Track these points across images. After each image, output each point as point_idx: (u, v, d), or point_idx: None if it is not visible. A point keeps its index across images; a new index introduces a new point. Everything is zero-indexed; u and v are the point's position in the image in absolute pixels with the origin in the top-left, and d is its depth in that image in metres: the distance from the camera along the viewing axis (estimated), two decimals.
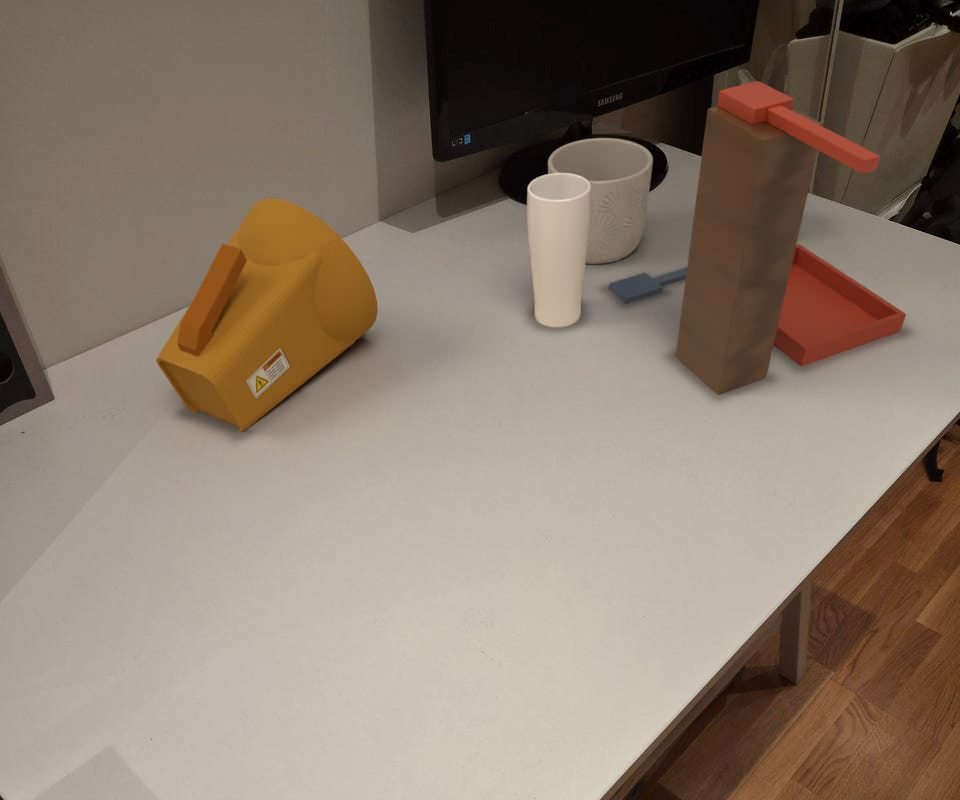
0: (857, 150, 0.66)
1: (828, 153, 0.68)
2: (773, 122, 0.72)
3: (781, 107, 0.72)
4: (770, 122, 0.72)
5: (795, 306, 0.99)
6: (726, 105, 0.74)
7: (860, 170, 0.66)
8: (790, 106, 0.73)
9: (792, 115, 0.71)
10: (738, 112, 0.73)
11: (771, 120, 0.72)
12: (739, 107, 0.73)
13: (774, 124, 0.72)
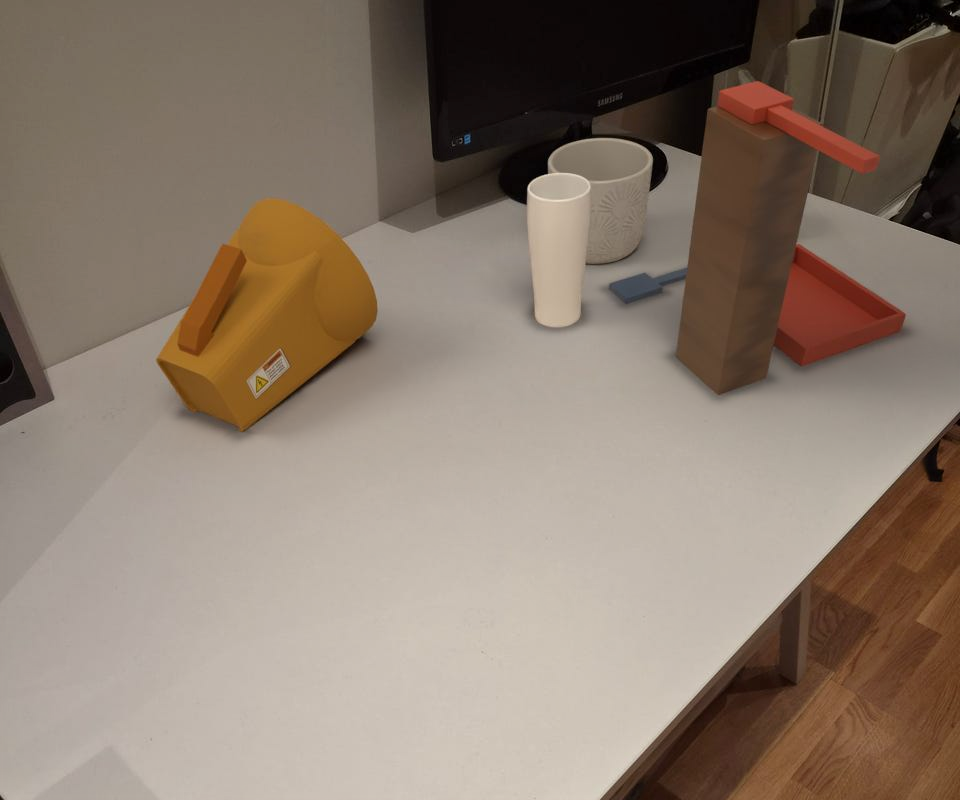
0: (857, 150, 0.66)
1: (828, 153, 0.68)
2: (773, 122, 0.72)
3: (781, 107, 0.72)
4: (770, 122, 0.72)
5: (795, 306, 0.99)
6: (726, 105, 0.74)
7: (860, 170, 0.66)
8: (790, 106, 0.73)
9: (792, 115, 0.71)
10: (738, 112, 0.73)
11: (771, 120, 0.72)
12: (739, 107, 0.73)
13: (774, 124, 0.72)
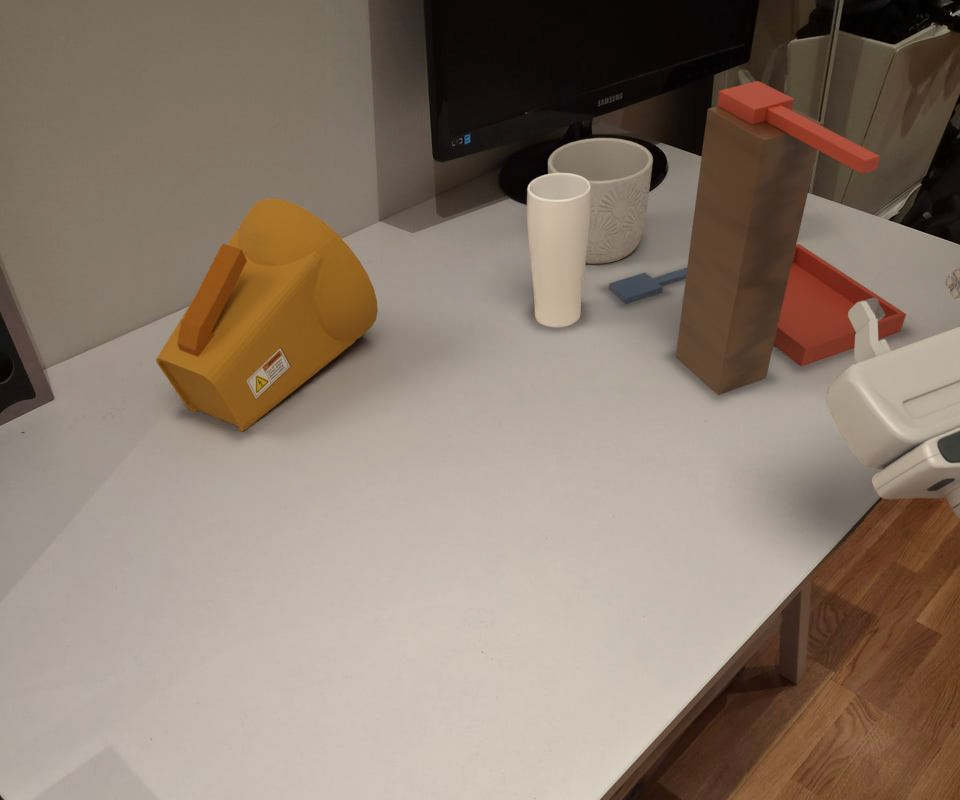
0: (857, 150, 0.66)
1: (828, 153, 0.68)
2: (773, 122, 0.72)
3: (781, 107, 0.72)
4: (770, 122, 0.72)
5: (795, 306, 0.99)
6: (726, 105, 0.74)
7: (860, 170, 0.66)
8: (790, 106, 0.73)
9: (792, 115, 0.71)
10: (738, 112, 0.73)
11: (771, 120, 0.72)
12: (739, 107, 0.73)
13: (774, 124, 0.72)
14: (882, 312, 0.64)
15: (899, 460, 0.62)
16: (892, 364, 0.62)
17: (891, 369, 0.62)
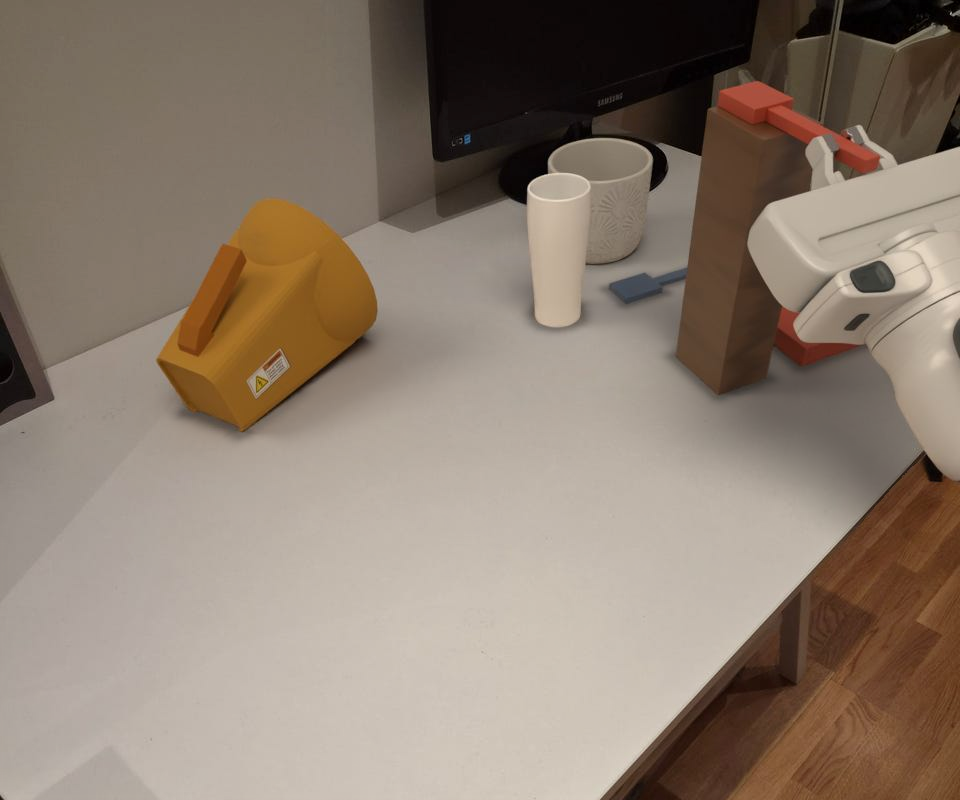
0: (857, 150, 0.66)
1: None
2: (773, 122, 0.72)
3: (781, 107, 0.72)
4: (770, 122, 0.72)
5: None
6: (726, 105, 0.74)
7: (861, 170, 0.66)
8: (790, 106, 0.73)
9: (792, 115, 0.71)
10: (738, 112, 0.73)
11: (771, 120, 0.72)
12: (739, 107, 0.73)
13: (774, 124, 0.72)
14: (837, 147, 0.67)
15: (815, 296, 0.64)
16: (809, 203, 0.64)
17: (807, 208, 0.64)
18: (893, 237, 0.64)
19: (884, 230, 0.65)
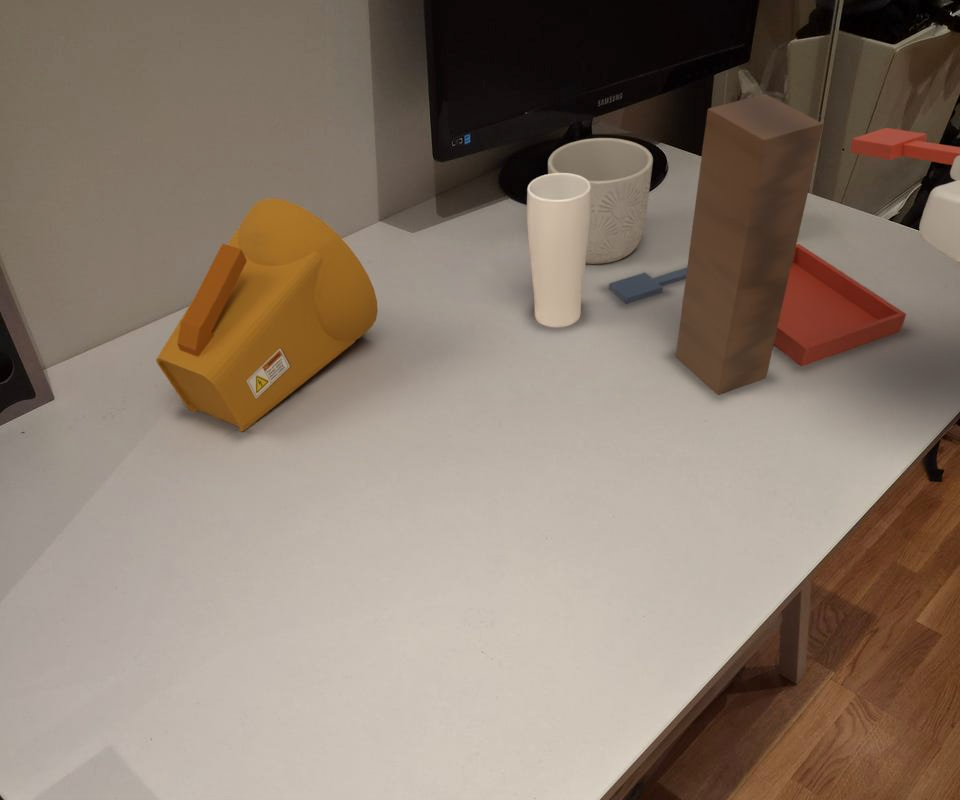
0: None
1: None
2: (911, 154, 0.77)
3: (917, 141, 0.77)
4: (908, 155, 0.78)
5: (795, 306, 0.99)
6: (860, 149, 0.80)
7: None
8: (924, 141, 0.78)
9: (930, 145, 0.76)
10: (874, 152, 0.79)
11: (909, 153, 0.77)
12: (875, 147, 0.79)
13: (912, 156, 0.77)
14: None
15: None
16: None
17: None
18: None
19: None
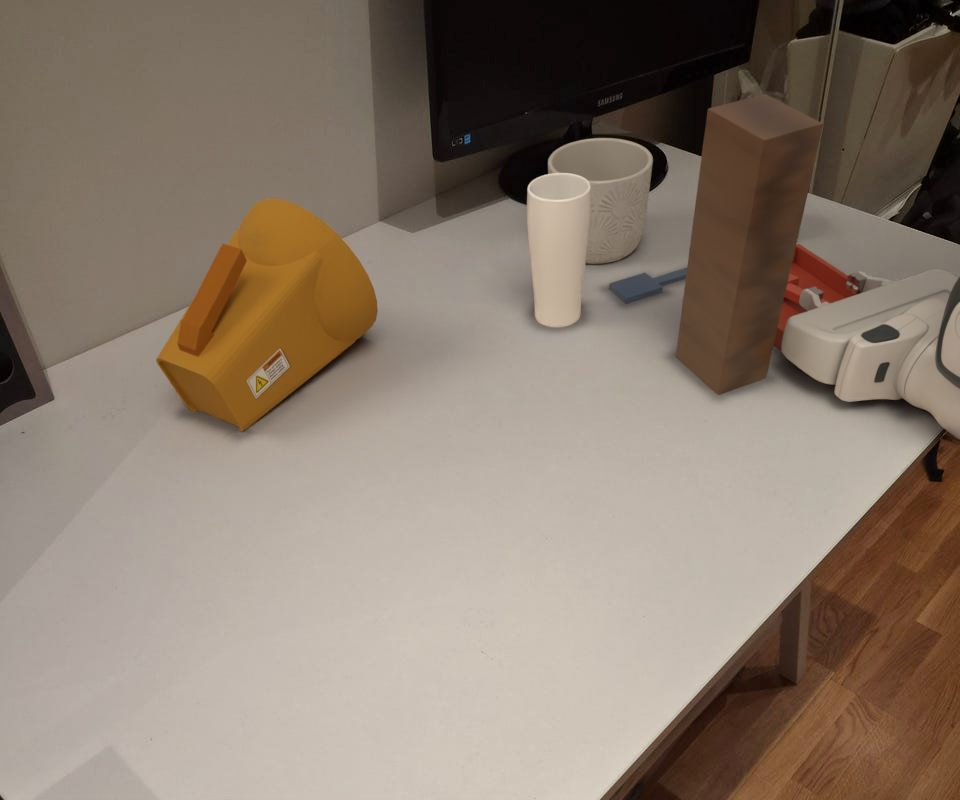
0: None
1: None
2: (785, 295, 0.99)
3: (790, 284, 0.99)
4: None
5: (795, 306, 0.99)
6: None
7: None
8: (797, 283, 1.00)
9: (798, 290, 0.98)
10: None
11: None
12: None
13: (786, 296, 0.99)
14: (821, 291, 0.91)
15: (842, 360, 0.83)
16: (819, 312, 0.87)
17: (819, 314, 0.87)
18: (891, 315, 0.84)
19: (884, 317, 0.86)
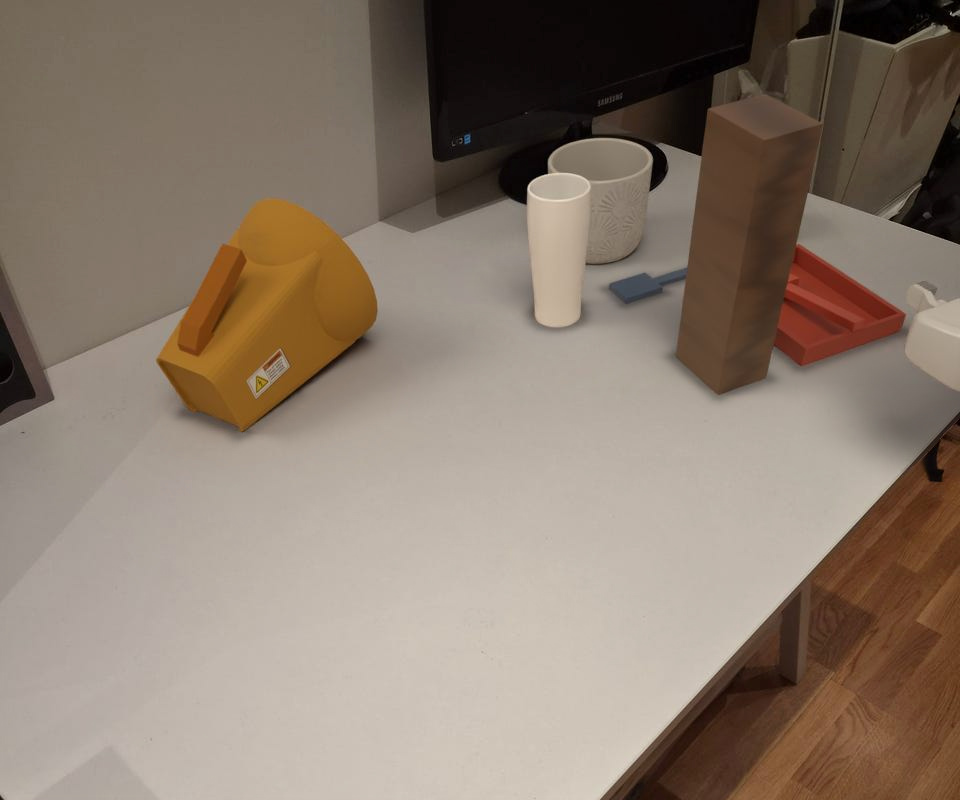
0: (848, 315, 0.92)
1: (827, 317, 0.94)
2: (785, 295, 0.99)
3: (790, 284, 0.99)
4: None
5: (795, 306, 0.99)
6: None
7: (851, 329, 0.91)
8: (797, 283, 1.00)
9: (798, 290, 0.98)
10: None
11: None
12: None
13: (786, 296, 0.99)
14: (933, 287, 0.76)
15: None
16: (954, 306, 0.72)
17: (953, 309, 0.72)
18: None
19: None
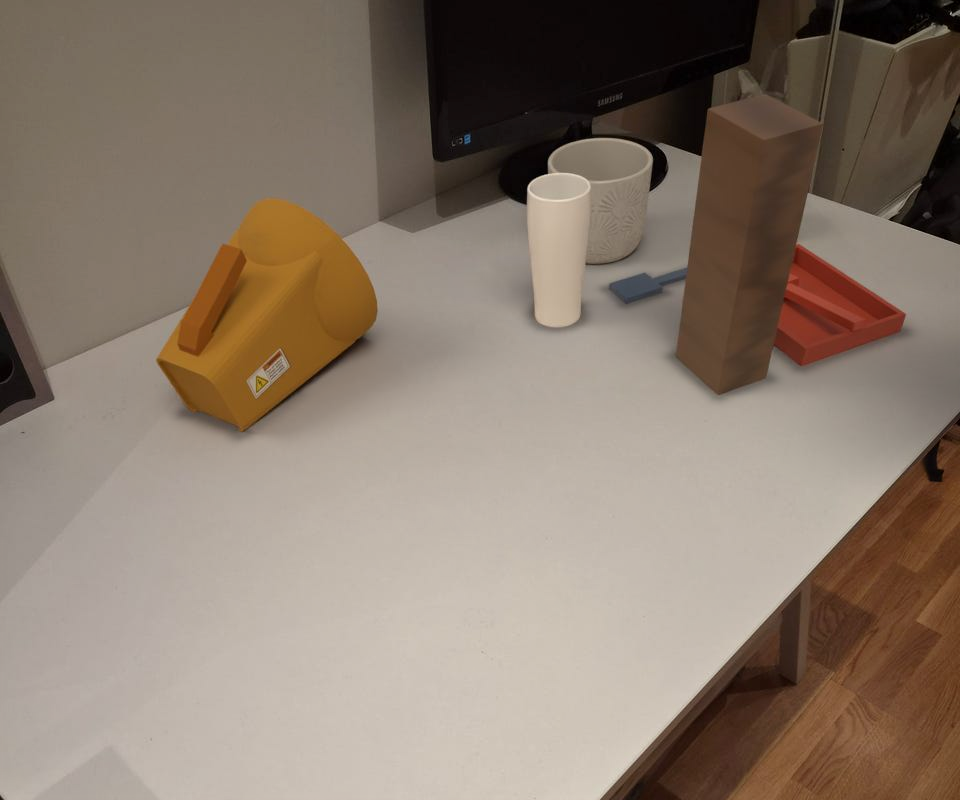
0: (848, 315, 0.92)
1: (827, 317, 0.94)
2: (785, 295, 0.99)
3: (790, 284, 0.99)
4: None
5: (795, 306, 0.99)
6: None
7: (851, 329, 0.91)
8: (797, 283, 1.00)
9: (798, 290, 0.98)
10: None
11: None
12: None
13: (786, 296, 0.99)
14: None
15: None
16: None
17: None
18: None
19: None
